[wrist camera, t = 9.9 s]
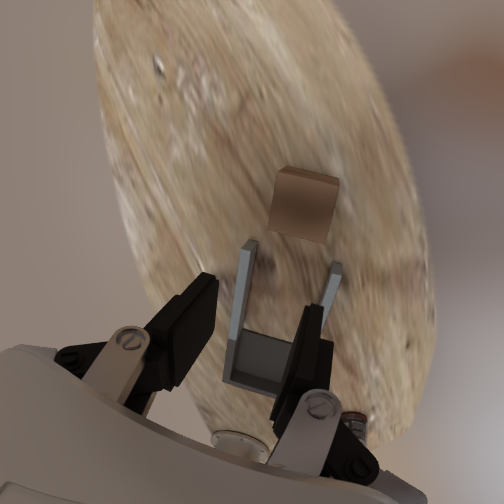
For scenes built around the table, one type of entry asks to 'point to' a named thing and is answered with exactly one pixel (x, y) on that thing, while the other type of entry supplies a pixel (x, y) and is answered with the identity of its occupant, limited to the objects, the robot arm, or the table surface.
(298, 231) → the walnut block
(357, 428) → the supplement bottle
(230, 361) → the grey u-shaped bracket
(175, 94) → the table surface
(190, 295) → the robot arm
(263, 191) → the table surface
